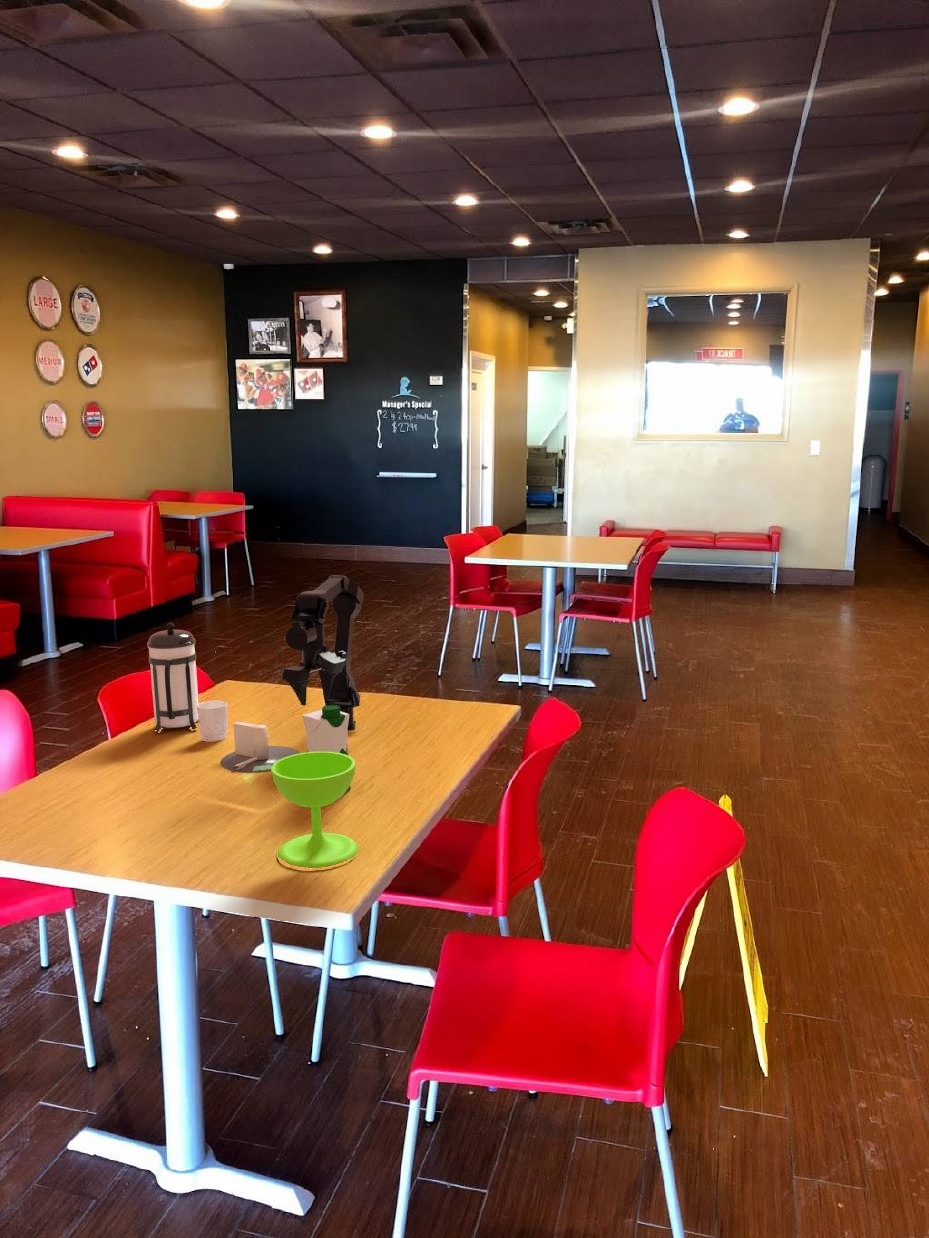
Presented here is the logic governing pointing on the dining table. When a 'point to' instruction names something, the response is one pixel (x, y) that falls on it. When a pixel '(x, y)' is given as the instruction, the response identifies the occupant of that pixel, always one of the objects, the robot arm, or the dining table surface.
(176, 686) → the coffee press
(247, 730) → the peg key
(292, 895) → the dining table surface
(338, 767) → the wineglass
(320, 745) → the milk carton
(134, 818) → the dining table surface
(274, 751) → the tuner plate
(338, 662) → the robot arm
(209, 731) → the white cup
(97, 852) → the dining table surface
